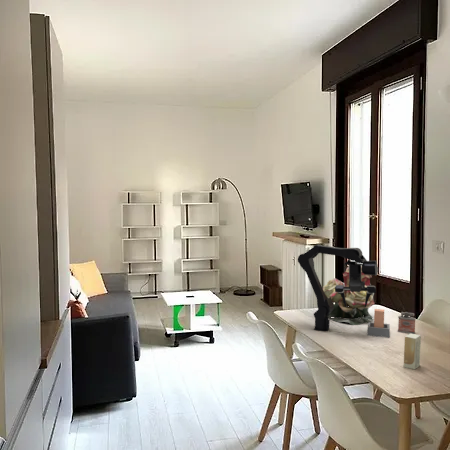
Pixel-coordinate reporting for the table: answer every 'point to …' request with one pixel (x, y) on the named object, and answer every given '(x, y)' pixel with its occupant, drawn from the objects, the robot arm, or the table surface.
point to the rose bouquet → (349, 301)
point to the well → (378, 330)
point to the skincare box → (412, 351)
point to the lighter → (406, 323)
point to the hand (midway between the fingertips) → (355, 306)
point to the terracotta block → (379, 318)
